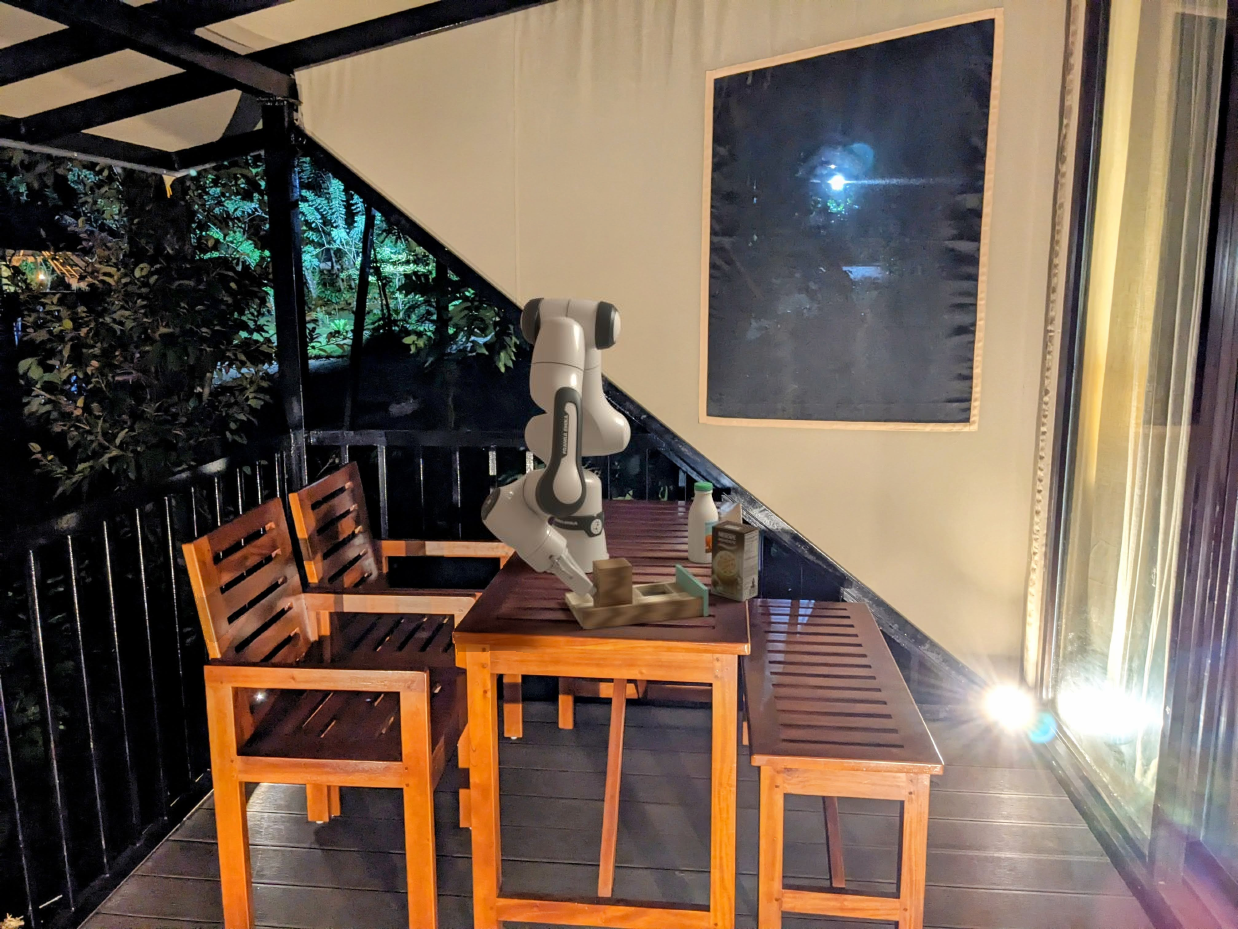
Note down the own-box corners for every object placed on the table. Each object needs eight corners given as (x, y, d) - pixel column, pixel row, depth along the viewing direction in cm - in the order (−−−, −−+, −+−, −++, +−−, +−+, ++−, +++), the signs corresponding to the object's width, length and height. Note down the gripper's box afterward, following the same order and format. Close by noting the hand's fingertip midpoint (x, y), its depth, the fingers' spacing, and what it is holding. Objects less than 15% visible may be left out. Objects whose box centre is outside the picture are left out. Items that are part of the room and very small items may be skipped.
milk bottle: (694, 565, 227) (694, 487, 223) (683, 557, 234) (683, 481, 230) (723, 562, 229) (723, 485, 225) (711, 554, 236) (711, 479, 232)
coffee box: (709, 593, 206) (709, 525, 203) (725, 586, 210) (726, 519, 207) (743, 602, 200) (743, 532, 197) (759, 595, 204) (760, 526, 201)
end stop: (703, 616, 192) (703, 589, 190) (675, 590, 209) (675, 565, 208) (708, 615, 192) (708, 588, 191) (679, 589, 209) (679, 564, 208)
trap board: (583, 629, 185) (583, 611, 184) (565, 601, 202) (564, 584, 202) (703, 615, 192) (703, 597, 191) (675, 589, 209) (675, 572, 208)
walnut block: (600, 615, 188) (599, 568, 186) (593, 605, 193) (592, 560, 192) (632, 611, 190) (632, 565, 188) (624, 602, 195) (624, 557, 193)
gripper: (567, 553, 176) (616, 595, 180) (546, 526, 195) (591, 566, 199) (545, 577, 175) (595, 619, 180) (527, 548, 195) (572, 587, 199)
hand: (593, 591), depth 190 cm, fingers closed, pressing on walnut block
